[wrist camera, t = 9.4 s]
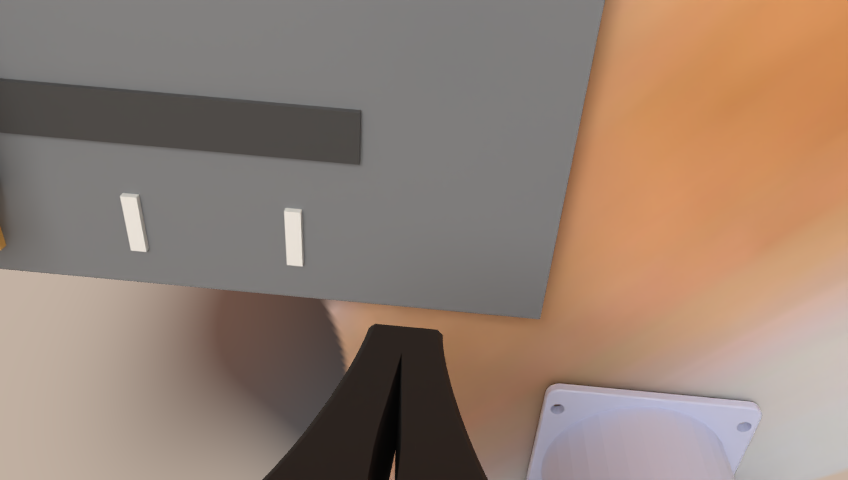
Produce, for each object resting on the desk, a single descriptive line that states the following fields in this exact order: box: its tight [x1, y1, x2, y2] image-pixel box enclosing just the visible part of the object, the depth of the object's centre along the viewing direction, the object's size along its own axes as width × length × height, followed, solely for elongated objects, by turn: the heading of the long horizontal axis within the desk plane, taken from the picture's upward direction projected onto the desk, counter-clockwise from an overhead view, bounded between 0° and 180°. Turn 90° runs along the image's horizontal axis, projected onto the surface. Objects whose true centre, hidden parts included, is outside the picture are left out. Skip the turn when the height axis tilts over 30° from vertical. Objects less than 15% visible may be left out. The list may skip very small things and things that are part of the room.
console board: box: [0, 0, 605, 319], centre depth 21 cm, size 12×28×2 cm, turn 86°
